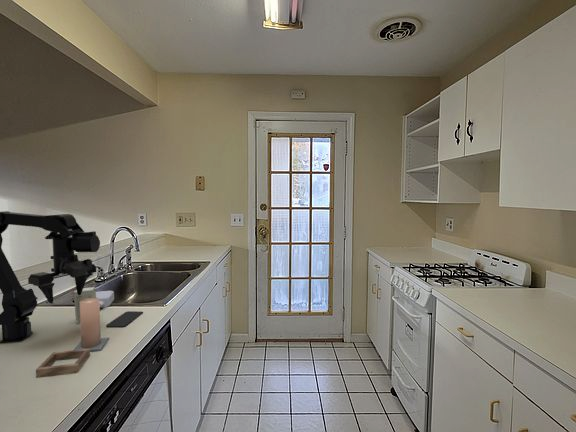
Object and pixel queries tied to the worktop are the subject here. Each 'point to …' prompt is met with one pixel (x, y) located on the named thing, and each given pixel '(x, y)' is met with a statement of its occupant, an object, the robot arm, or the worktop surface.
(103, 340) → the mat
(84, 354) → the holder
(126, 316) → the phone
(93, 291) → the skincare box
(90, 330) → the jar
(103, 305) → the charger
